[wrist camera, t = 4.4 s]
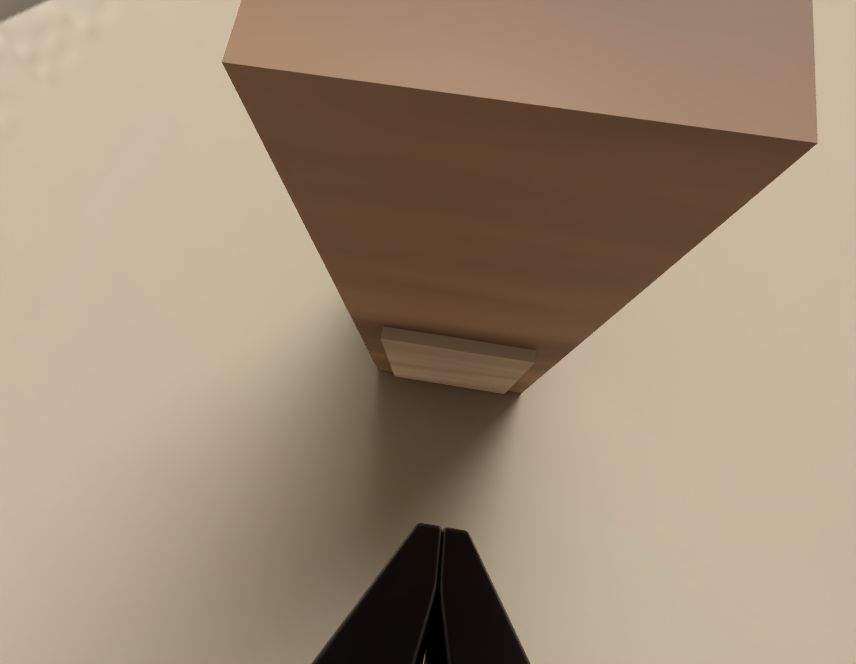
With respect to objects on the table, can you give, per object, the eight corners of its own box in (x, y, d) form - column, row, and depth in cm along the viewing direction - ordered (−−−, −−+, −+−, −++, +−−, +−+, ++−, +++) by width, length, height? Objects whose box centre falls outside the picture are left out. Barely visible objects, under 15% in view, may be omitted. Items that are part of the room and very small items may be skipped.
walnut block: (520, 401, 18) (818, 175, 4) (376, 378, 18) (213, 91, 4) (537, 258, 19) (803, -263, 6) (402, 238, 19) (340, -311, 6)
